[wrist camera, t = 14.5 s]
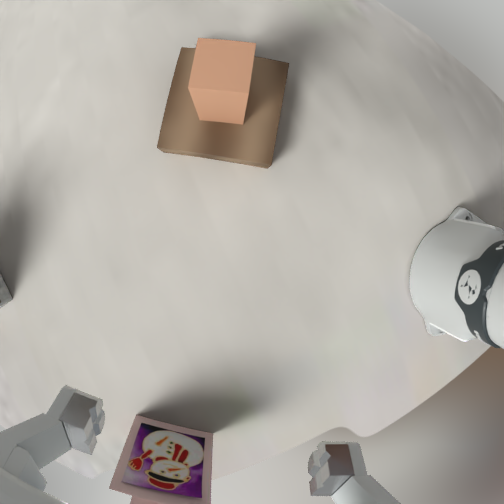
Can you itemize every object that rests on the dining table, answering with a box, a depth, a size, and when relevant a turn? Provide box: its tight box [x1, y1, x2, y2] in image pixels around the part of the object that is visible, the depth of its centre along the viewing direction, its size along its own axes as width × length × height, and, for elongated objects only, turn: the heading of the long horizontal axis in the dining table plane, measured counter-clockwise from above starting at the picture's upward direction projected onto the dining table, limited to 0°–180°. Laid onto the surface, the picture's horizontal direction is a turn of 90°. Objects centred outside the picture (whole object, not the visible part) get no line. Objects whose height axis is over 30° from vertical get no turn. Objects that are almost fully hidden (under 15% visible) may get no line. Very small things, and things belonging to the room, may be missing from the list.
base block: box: [157, 47, 289, 168], centre depth 33 cm, size 12×12×4 cm
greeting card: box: [109, 415, 213, 504], centre depth 33 cm, size 11×7×15 cm, turn 75°
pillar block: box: [188, 38, 256, 125], centre depth 26 cm, size 4×4×10 cm
